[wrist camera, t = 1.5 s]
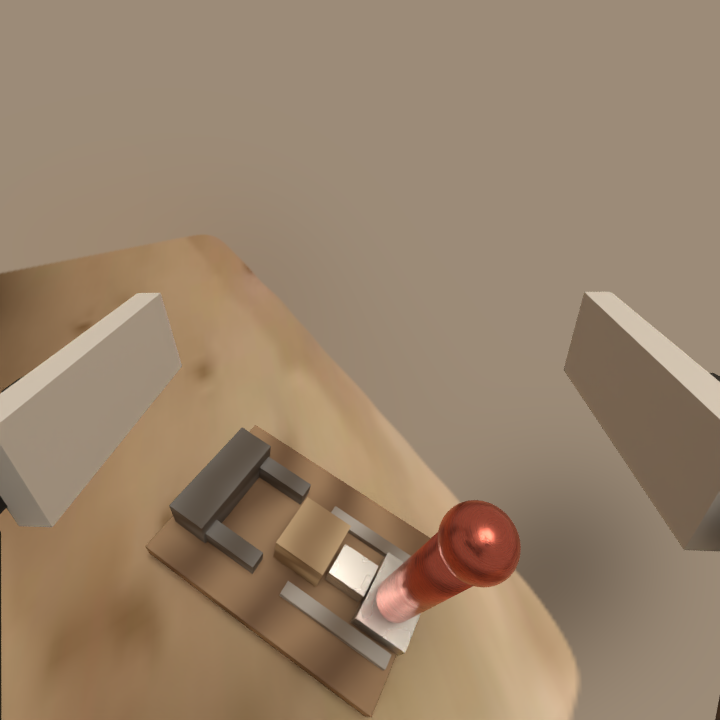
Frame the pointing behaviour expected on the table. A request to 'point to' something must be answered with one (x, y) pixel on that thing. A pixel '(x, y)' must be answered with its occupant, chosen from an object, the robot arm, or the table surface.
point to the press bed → (269, 576)
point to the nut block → (310, 541)
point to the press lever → (428, 572)
